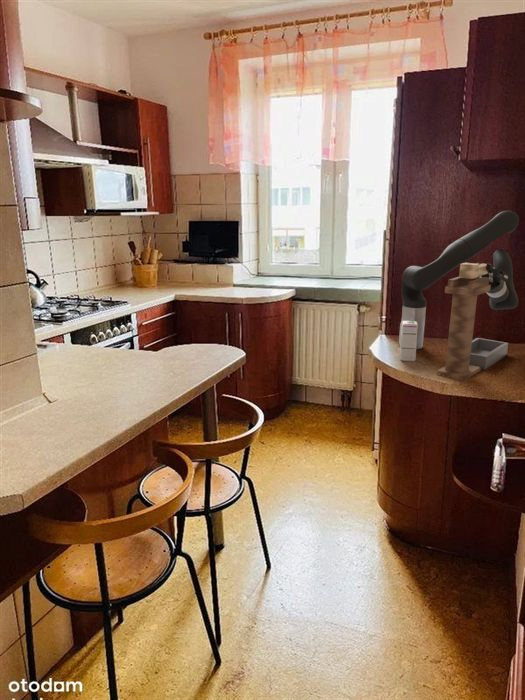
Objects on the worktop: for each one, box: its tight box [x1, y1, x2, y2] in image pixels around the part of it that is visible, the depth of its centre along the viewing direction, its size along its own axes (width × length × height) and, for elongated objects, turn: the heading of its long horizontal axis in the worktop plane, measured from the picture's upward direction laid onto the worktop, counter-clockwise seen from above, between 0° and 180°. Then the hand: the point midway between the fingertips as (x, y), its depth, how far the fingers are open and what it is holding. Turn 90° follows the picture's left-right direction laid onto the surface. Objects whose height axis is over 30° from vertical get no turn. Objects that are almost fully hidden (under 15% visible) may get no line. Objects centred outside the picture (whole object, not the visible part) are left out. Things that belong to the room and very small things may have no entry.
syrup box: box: [399, 320, 418, 362], centre depth 194 cm, size 6×6×14 cm
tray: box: [469, 337, 509, 371], centre depth 194 cm, size 12×24×5 cm, turn 138°
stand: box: [436, 276, 491, 381], centre depth 175 cm, size 10×14×34 cm
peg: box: [458, 262, 492, 280], centre depth 174 cm, size 4×18×4 cm, turn 138°
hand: (482, 265), depth 177 cm, fingers closed on peg, 3 cm apart
